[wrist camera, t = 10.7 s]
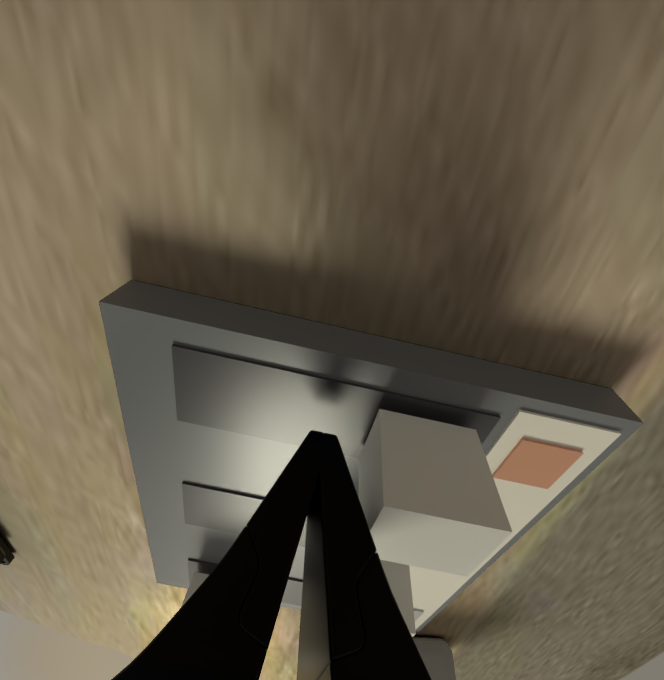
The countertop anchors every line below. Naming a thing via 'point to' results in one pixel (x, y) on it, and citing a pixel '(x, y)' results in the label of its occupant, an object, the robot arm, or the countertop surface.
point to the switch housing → (321, 421)
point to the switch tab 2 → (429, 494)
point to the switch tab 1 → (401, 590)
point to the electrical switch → (436, 657)
